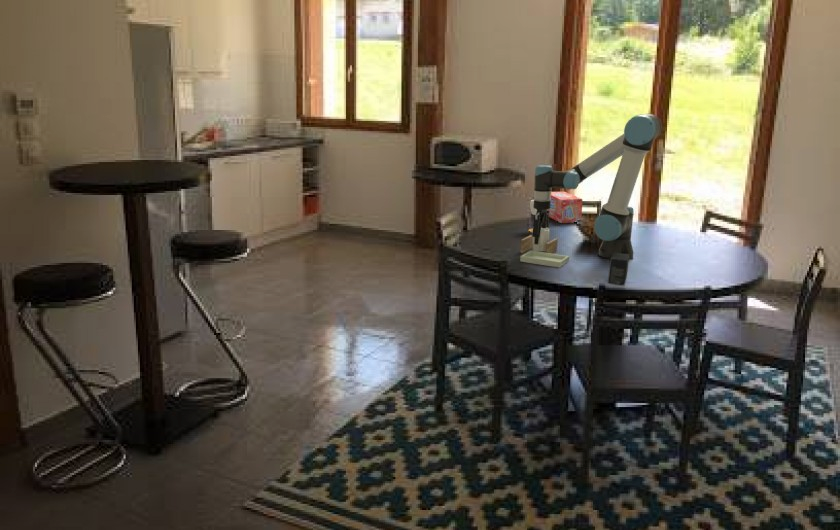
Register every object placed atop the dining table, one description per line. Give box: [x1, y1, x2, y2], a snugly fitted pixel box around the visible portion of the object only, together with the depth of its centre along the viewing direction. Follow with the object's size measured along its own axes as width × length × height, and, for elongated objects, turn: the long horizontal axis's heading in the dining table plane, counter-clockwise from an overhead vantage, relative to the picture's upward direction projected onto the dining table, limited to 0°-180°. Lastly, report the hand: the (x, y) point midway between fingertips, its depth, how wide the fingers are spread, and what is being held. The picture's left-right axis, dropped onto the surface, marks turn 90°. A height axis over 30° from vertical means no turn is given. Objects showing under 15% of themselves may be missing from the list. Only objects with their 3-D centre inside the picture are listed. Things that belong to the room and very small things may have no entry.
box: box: [547, 191, 583, 224], centre depth 385 cm, size 27×13×14 cm, turn 10°
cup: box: [528, 199, 537, 233], centre depth 353 cm, size 9×9×16 cm
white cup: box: [531, 227, 551, 252], centre depth 312 cm, size 8×8×10 cm
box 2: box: [607, 252, 630, 286], centre depth 270 cm, size 11×7×10 cm, turn 158°
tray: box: [519, 249, 570, 268], centre depth 298 cm, size 18×12×2 cm, turn 60°
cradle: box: [520, 234, 559, 254], centre depth 313 cm, size 13×12×6 cm
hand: (539, 248), depth 313 cm, fingers closed on white cup, 8 cm apart
